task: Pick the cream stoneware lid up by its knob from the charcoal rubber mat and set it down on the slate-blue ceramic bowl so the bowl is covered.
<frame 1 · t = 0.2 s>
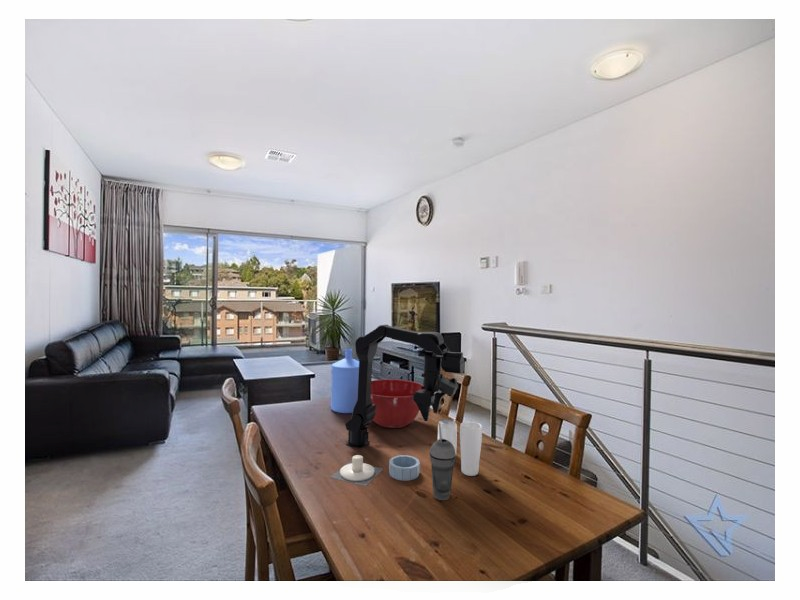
hand: (430, 416, 130), 14 cm above the table, fingers open, 9 cm apart
bowl: (404, 474, 119), on the table
water jug: (347, 409, 183), on the table
mat: (357, 474, 119), on the table
can: (446, 456, 134), on the table
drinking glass: (469, 473, 121), on the table
beverage cup: (441, 496, 107), on the table
lid: (357, 472, 119), resting on mat
mixing bowl: (392, 423, 166), on the table
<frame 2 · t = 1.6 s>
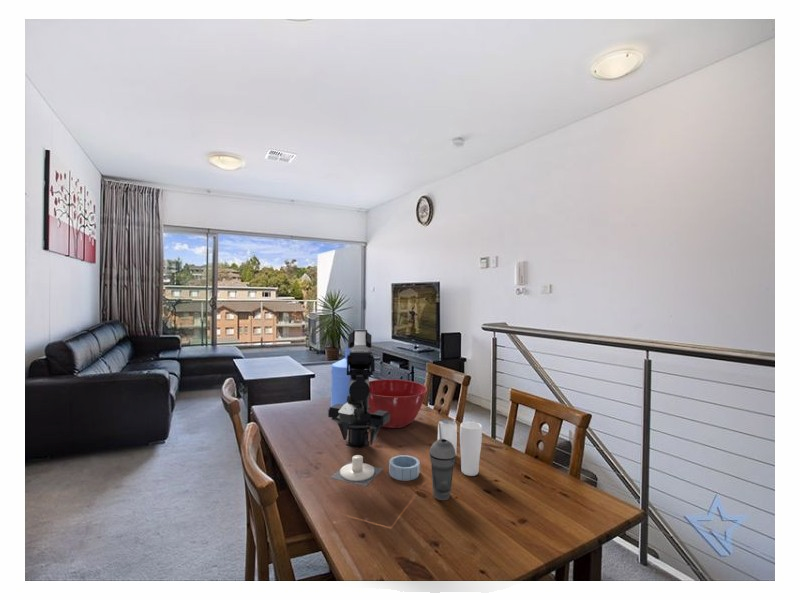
hand: (358, 442, 119), 10 cm above the table, fingers open, 9 cm apart
nothing on the table moved.
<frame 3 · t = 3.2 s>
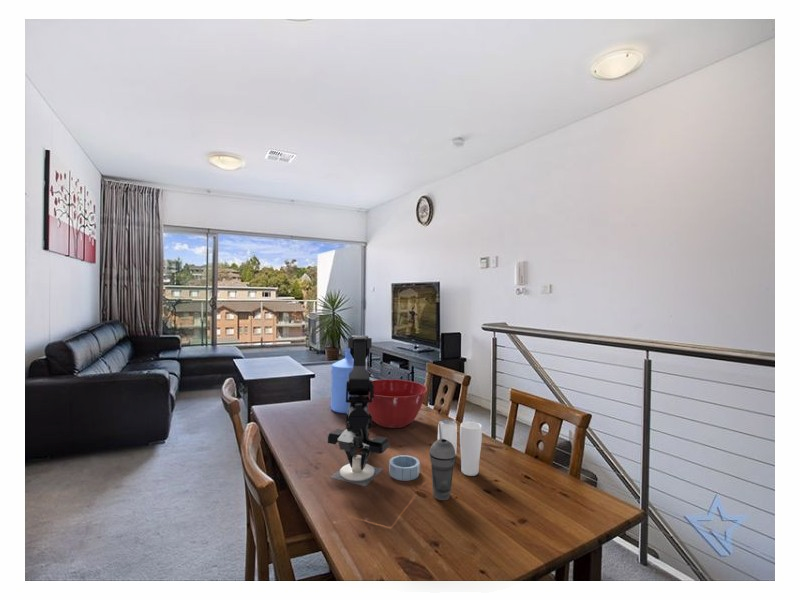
hand: (357, 468, 119), 2 cm above the table, fingers closed on lid, 3 cm apart
lid: (357, 472, 119), resting on mat, touching gripper
everything else where it was.
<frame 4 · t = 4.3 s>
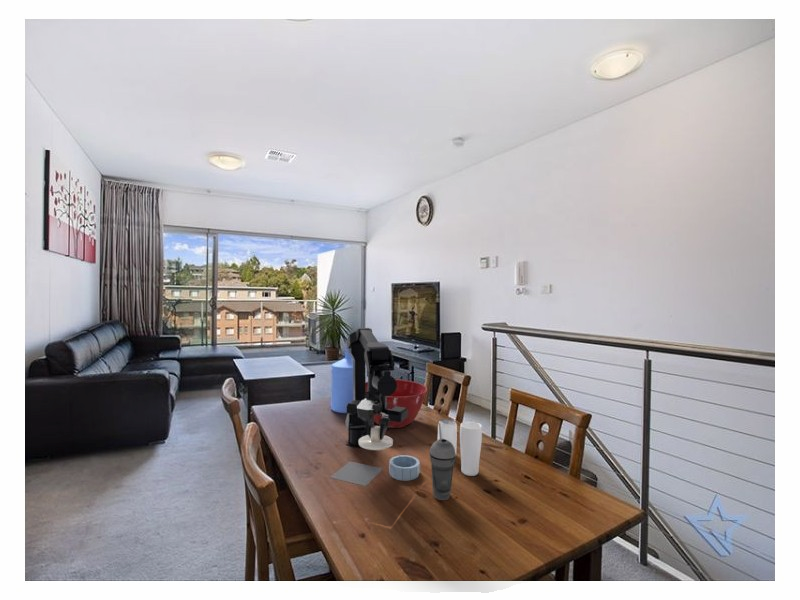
hand: (376, 438, 118), 11 cm above the table, fingers closed on lid, 3 cm apart
lid: (375, 443, 118), point 10 cm above the table, touching gripper
everything else where it was.
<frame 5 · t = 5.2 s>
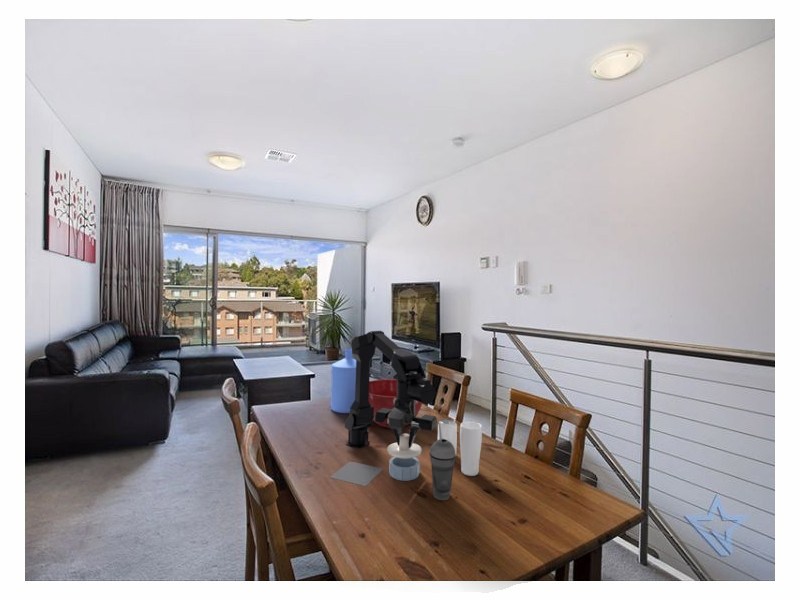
hand: (404, 446, 119), 9 cm above the table, fingers closed on lid, 3 cm apart
lid: (404, 451, 119), point 7 cm above the table, touching gripper
everything else where it was.
when the fingers open (6 cm above the table, at t = 5.8 s): lid drops 1 cm, resting on bowl.
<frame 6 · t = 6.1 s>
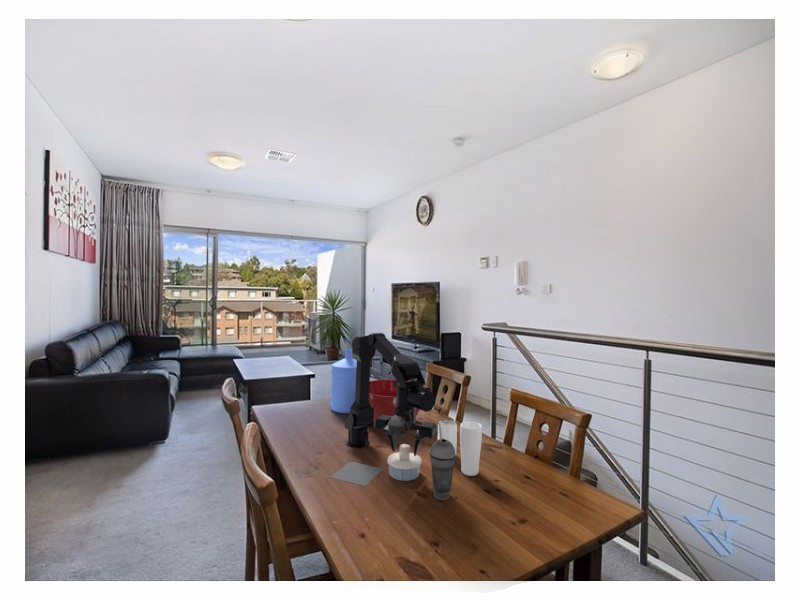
hand: (404, 453, 119), 6 cm above the table, fingers open, 7 cm apart
lid: (404, 461, 119), point 4 cm above the table, touching bowl
everything else where it was.
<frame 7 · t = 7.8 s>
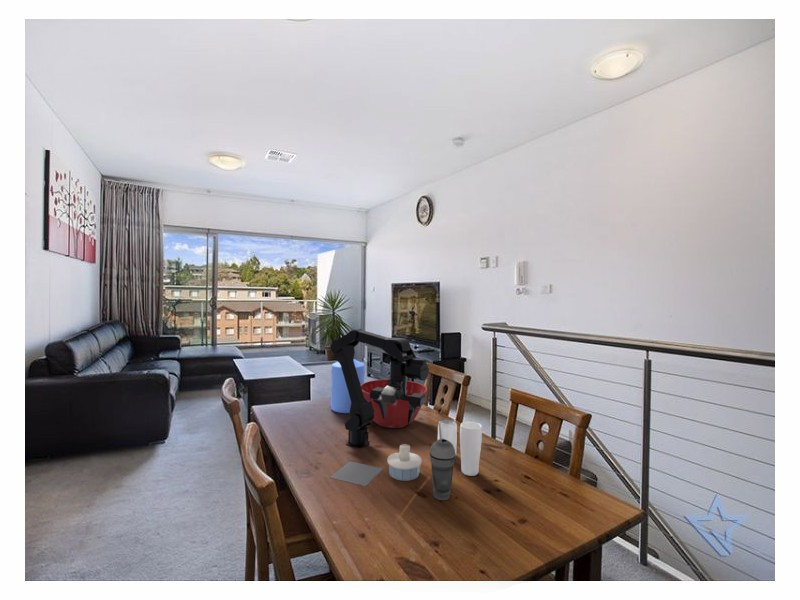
hand: (396, 421, 132), 12 cm above the table, fingers open, 9 cm apart
nothing on the table moved.
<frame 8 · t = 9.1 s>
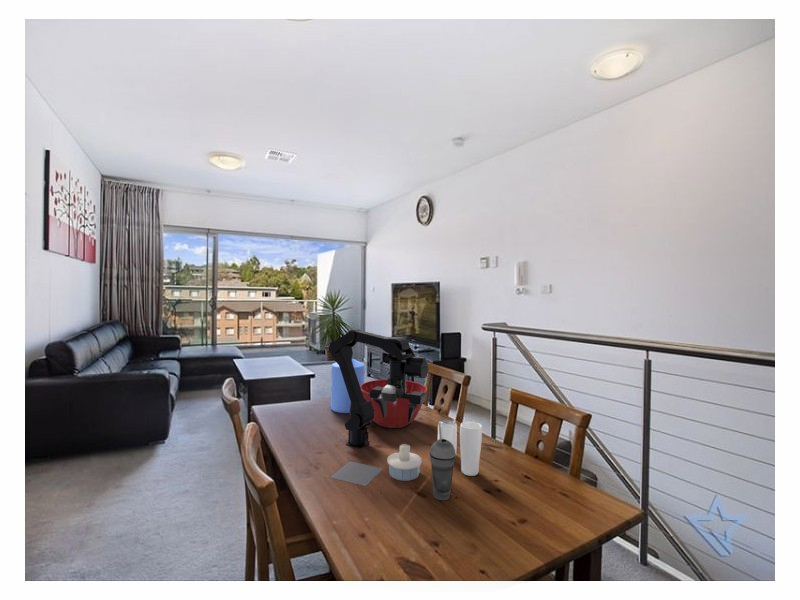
hand: (396, 420, 133), 12 cm above the table, fingers open, 9 cm apart
nothing on the table moved.
at the end: lid 0.1 cm off-centre on the bowl, point 4.0 cm above the bowl's base; lid tilted 0°; the gripper is holding nothing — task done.
